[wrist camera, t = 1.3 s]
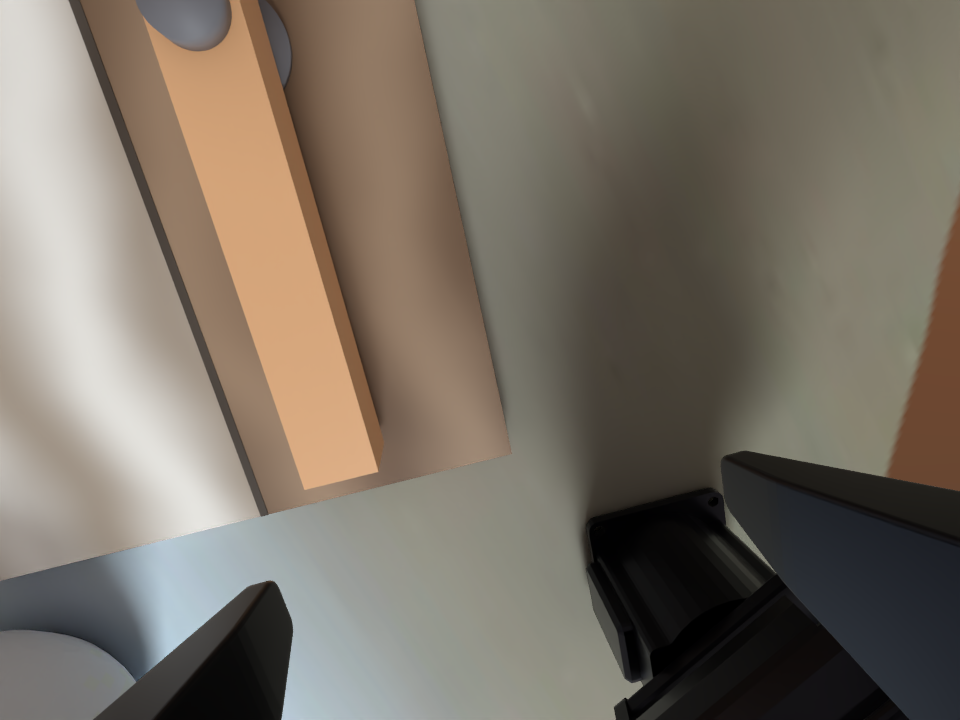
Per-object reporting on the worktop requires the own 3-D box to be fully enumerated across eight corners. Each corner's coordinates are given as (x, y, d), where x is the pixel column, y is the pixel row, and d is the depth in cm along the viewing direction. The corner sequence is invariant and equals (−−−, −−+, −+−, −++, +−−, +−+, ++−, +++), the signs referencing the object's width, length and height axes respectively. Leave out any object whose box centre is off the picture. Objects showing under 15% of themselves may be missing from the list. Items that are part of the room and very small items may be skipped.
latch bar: (170, -3, 15) (100, -68, 12) (252, -18, 15) (206, -88, 12) (319, 457, 19) (298, 502, 16) (384, 442, 19) (376, 483, 16)
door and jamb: (365, -210, 16) (343, -380, 11) (505, 439, 22) (526, 489, 17) (-367, -86, 15) (-702, -223, 10) (-9, 566, 20) (-126, 654, 16)
